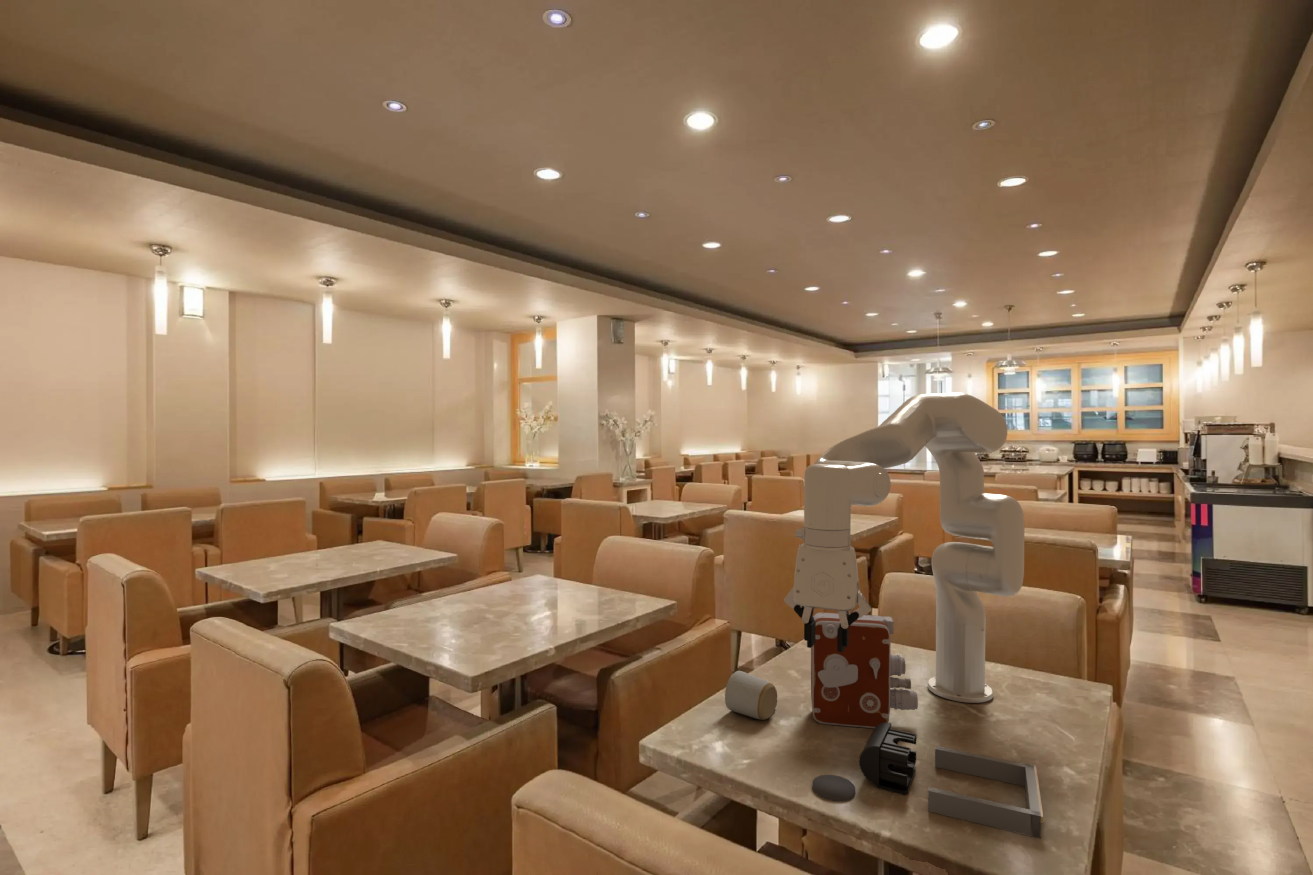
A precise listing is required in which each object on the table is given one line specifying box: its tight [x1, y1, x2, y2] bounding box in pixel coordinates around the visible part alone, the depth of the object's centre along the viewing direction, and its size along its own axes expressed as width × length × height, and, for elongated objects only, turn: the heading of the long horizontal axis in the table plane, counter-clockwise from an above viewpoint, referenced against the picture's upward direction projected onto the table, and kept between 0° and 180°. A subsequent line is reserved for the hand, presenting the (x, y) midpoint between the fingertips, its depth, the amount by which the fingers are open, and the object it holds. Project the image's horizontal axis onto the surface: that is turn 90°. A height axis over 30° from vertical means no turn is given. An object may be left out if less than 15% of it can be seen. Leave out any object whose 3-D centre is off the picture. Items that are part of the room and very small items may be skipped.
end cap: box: [858, 722, 917, 796], centre depth 106 cm, size 10×7×7 cm
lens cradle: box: [927, 745, 1044, 839], centre depth 100 cm, size 15×14×3 cm
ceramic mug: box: [724, 670, 778, 721], centre depth 130 cm, size 11×8×8 cm
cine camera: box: [810, 612, 919, 729], centre depth 126 cm, size 9×19×20 cm, turn 78°
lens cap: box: [811, 774, 856, 802], centre depth 102 cm, size 6×6×1 cm
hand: (826, 646), depth 111 cm, fingers open, 4 cm apart
